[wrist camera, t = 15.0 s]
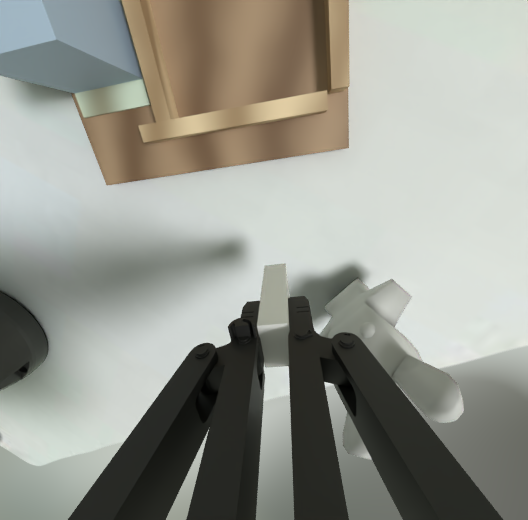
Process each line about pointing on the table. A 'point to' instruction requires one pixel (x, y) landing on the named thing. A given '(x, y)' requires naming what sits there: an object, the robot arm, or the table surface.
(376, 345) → the bunny figurine
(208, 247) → the table surface
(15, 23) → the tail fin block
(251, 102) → the jig
